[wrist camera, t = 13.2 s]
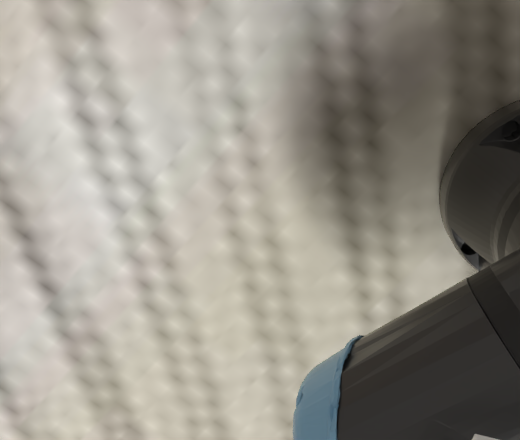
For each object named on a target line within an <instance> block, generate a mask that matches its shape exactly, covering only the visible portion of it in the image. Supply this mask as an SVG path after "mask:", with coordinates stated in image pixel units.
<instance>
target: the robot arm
mask: <svg viewBox="0 0 520 440" xmlns="http://www.w3.org/2000/svg"><path fill="white" fill-rule="evenodd" d="M440 211H441V217H442V221H443V224H444V227H445V229H446V231H447V233H448V235H449V237H450V239H451V240H452V242H453V244H454V245H455V247H456V249H457V250H458V252H459V253H460V254H461V255H462V257H463V258H464V259H465V260H466V261H467V262H468V263H469V264H470V265H471V266H472V267H474V268H475V269H476V270H478V271H479V272H478V273H476V274H474V275H472V276H471V277H469V278H466V279H464V280H462V281H461V282H459V283H457V284H456V285H454V286H452V287H450V288H449V289H447V290H445V291H444V292H442V293H440V294H438V295H437V296H435V297H433V298H432V299H430V300H428V301H427V302H425V303H423V304H421V305H419V306H418V307H416V308H414V309H412V310H411V311H409V312H407V313H405V314H403V315H402V316H400V317H398V318H396V319H394V320H393V321H391V322H389V323H387V324H385V325H384V326H382V327H380V328H378V329H377V330H375V331H373V332H371V333H369V334H368V335H366V336H361V335H359V336H357V337H355V338H353V339H352V340H350V341H349V342H348V343H347V345H346V346H345V348H344V349H342V350H340V351H339V352H337V353H336V354H334V355H333V356H331V357H330V358H328V359H327V360H325V361H323V362H322V363H320V364H319V365H317V366H316V367H315V368H313V369H312V370H311V371H310V372H309V374H308V375H307V376H306V378H305V379H304V381H303V382H302V385H301V387H300V389H299V392H298V396H297V399H296V409H295V412H294V417H293V440H520V101H517V102H514V103H512V104H510V105H508V106H505V107H503V108H501V109H500V110H498V111H496V112H494V113H493V114H491V115H490V116H488V117H487V118H486V119H484V120H483V121H482V122H480V123H479V124H478V125H477V126H476V127H475V128H473V129H472V130H471V131H470V132H469V133H468V135H467V136H466V137H465V138H464V139H463V140H462V141H461V143H460V144H459V145H458V147H457V148H456V150H455V151H454V153H453V155H452V156H451V158H450V160H449V162H448V165H447V167H446V169H445V172H444V175H443V179H442V183H441V188H440Z"/></svg>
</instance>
